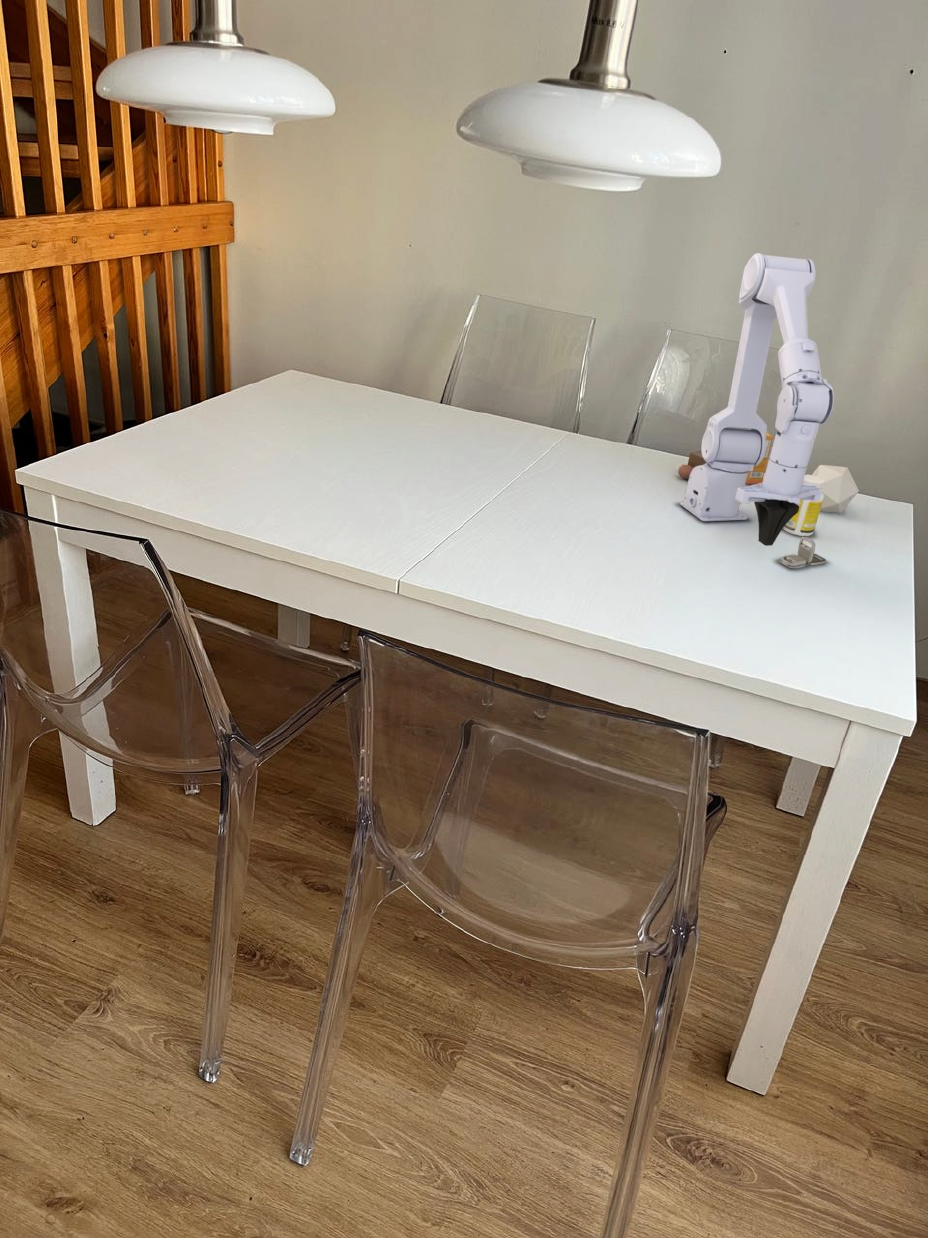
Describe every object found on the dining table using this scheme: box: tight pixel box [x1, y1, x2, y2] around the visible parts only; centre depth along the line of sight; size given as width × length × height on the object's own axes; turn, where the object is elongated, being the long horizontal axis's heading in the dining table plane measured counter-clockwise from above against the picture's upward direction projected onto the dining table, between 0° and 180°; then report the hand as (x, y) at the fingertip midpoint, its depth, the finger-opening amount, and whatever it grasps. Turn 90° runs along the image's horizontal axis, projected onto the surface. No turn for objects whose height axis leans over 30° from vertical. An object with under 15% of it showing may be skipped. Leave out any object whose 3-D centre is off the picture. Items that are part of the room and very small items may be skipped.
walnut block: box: [687, 450, 707, 468], centre depth 189 cm, size 5×5×5 cm
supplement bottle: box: [782, 474, 824, 537], centre depth 169 cm, size 5×5×10 cm
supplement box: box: [745, 431, 774, 486], centre depth 189 cm, size 3×3×10 cm
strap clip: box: [778, 536, 827, 569], centre depth 157 cm, size 8×3×4 cm, turn 119°
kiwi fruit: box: [677, 464, 694, 480], centre depth 189 cm, size 6×5×3 cm
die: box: [811, 464, 860, 514], centre depth 181 cm, size 8×9×10 cm
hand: (765, 543), depth 154 cm, fingers closed
